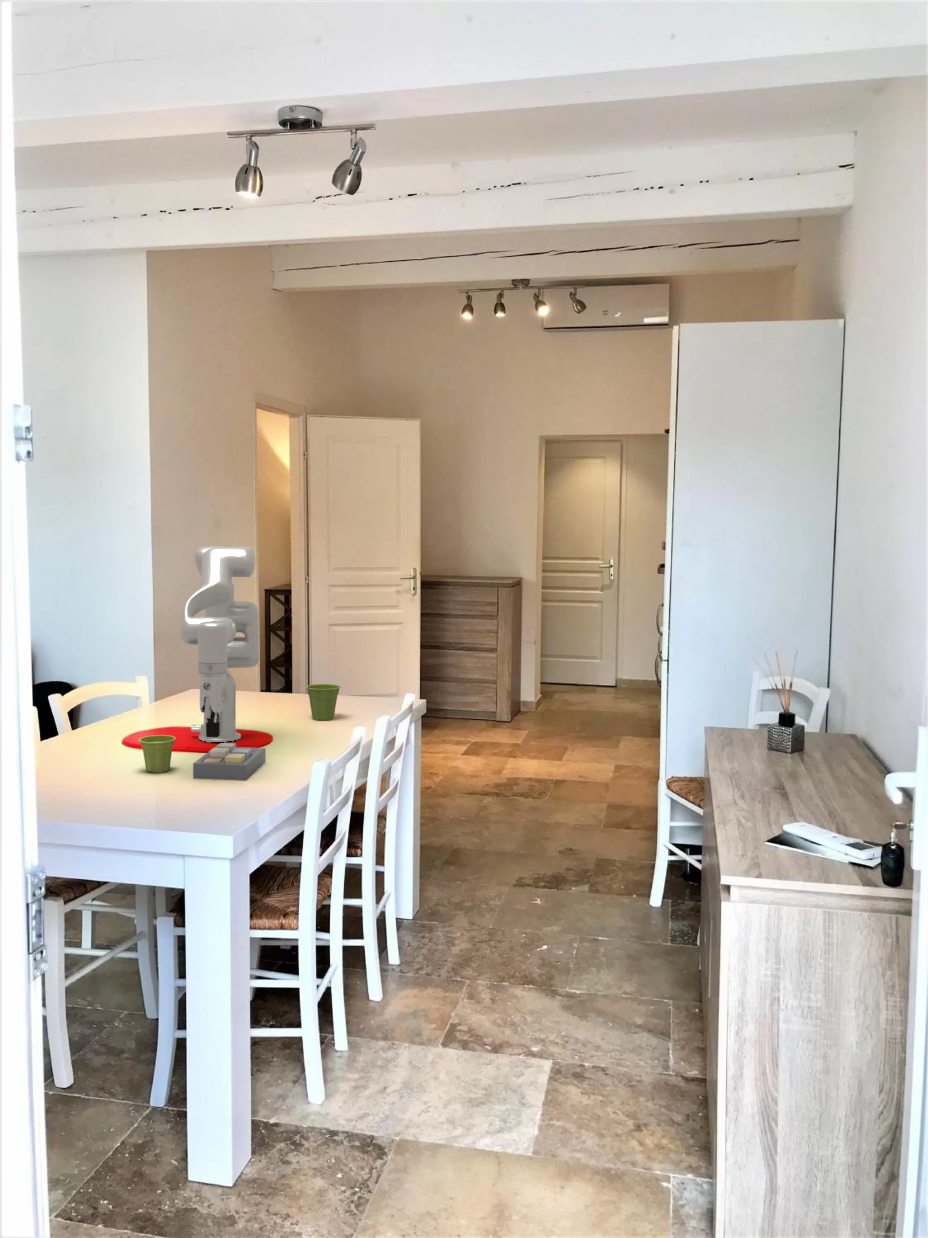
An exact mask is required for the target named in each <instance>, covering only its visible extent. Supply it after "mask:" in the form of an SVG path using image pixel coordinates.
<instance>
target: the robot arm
mask: <svg viewBox="0 0 928 1238" xmlns="http://www.w3.org/2000/svg"><path fill="white" fill-rule="evenodd" d="M194 561H195V565H196V569H197V571H198V573H199V575H200V583H199V584H200V588H199V589H197V590H196V591H195V592H194V593H192V594H191V595H190V596H189V597H188V598H187V599H186V602H185V603H184V605H183V607H182V612H181V622H180V636H181V640H182V641H183V642H184V643H185V644H187V645H190V646H192V645H193V646H195V645H197V675H198V676H200V683H199V711H200V712H201V713H203V723H202V724H190V731H191V732H193V733H200V734H199V735H198V740H199V739H200V740H202V741H201V742H204V741H206V742H205V743H211V742H224V743H228V742H227V741H232V742H235V741H234V740H236V741H238V739H239V740H240V739H241V738H242V734H241V733H240V732H237V729H236V726H237V725H236V724H237V721H236V719H237V718H236V716H237V714H236V713H237V712H236V711H237V710H236V708H237V706H236V702H237V701H236V700H237V699H236V698H237V697H236V696H237V694H236V693H237V692H236V691H237V689H236V688H237V687H236V684H237V683H236V680H235V678H234V676H233V675H232V674H231V673H230V671H228V669H231V668H232V669H234V668H235V669H236V668H237V669H239V668H243V669H244V668H245V669H246V668H254V667H256V666H257V665H258V663H259V661H260V614H259V608H258V605H256V603H255V602H252V601H246V600H245V601H244V600H243V601H240V600H239V601H236V600H235V586H234V582H233V581H232V578H250V577H251V576H252V575H254V572H255V568H256V555H255V551H254V549H253V548H252V547H250V546H230V545H229V546H226V545H225V546H223V545H216V546H215V545H210V546H209V545H207V546H201V547H199V548H197V549H196V550H195V552H194ZM202 611H204V615H205V616H196V615H197V614H199V613H200V612H202ZM237 633H241V634H243V635H244V636H236V635H237ZM200 740H199V741H200Z"/></svg>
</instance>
